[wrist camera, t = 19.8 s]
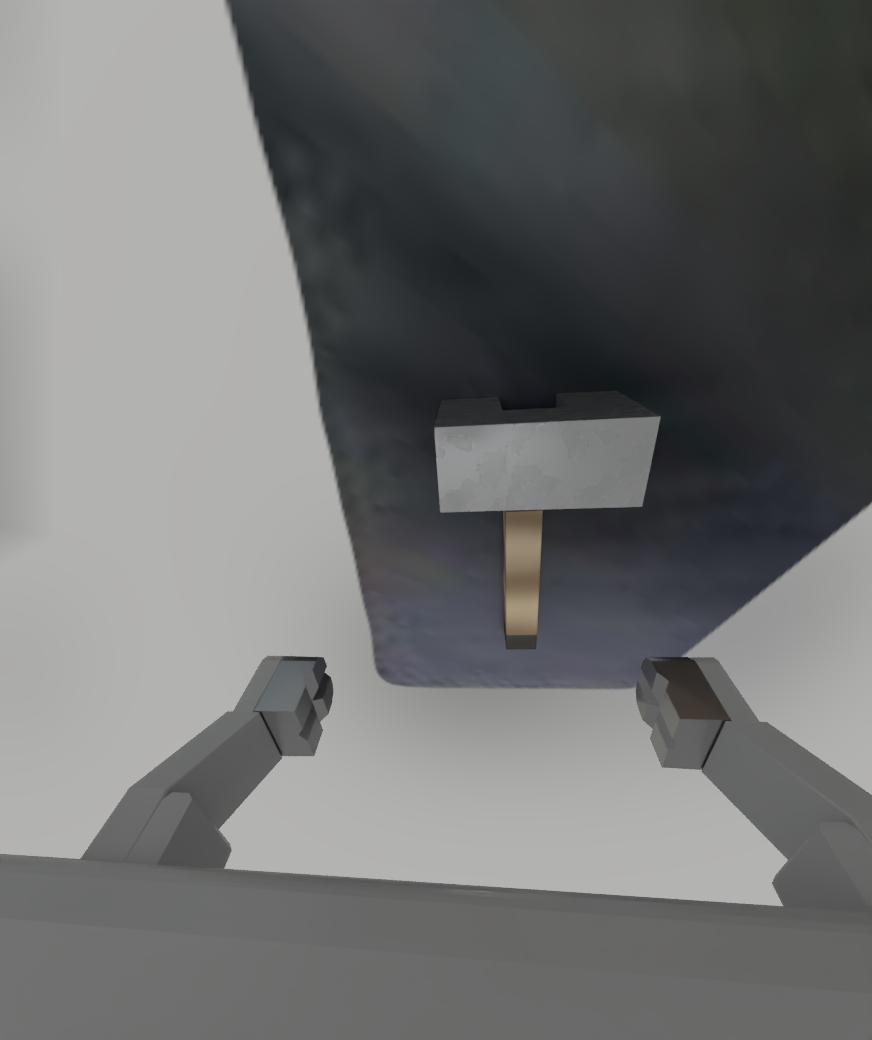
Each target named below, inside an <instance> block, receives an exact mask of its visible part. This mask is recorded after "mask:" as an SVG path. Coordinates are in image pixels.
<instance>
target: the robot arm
mask: <svg viewBox="0 0 872 1040" xmlns="http://www.w3.org/2000/svg"><path fill="white" fill-rule="evenodd" d="M326 667H327V666H326V663H325V660H324V658H322V657H296V656H295V657H294V656H267V657H266V658H265V659H263V660H262V662H261V663H260V665H259V667H258V669H257V670H256V672H255V674H254V676H253V677H252V679H251V681H250V683H249V684H248V686H247V688H246V690H245V691H244V693H243V695H242V697H241V698H240V700H239V702H238V704H237V706H236V707H235V709H234V711H233V712H226V713H225V714H224V715H223V716H221V717H220V718H219V719H218V720H216V721H215V722H214V723H212V724H211V725H210V726H208V727H207V728H206V729H205V730H203V731H202V732H201V733H199V734H198V735H197V736H196V737H194V738H193V739H192V740H190V741H189V742H188V743H187V744H185V745H184V746H183V747H182V748H180V749H179V750H178V751H176V752H175V753H174V754H173V755H171V756H170V757H169V758H167V759H166V760H165V761H164V762H162V763H161V764H160V765H158V766H157V767H156V768H155V769H153V770H152V771H151V772H149V773H148V774H147V775H146V776H145V777H143V778H142V779H140V780H139V781H138V782H137V783H135V784H134V785H133V786H131V787H130V788H129V790H128V791H127V792H126V794H125V795H124V797H123V798H122V800H121V801H120V803H119V804H118V805H117V807H116V808H115V810H114V811H113V813H112V814H111V816H110V817H109V819H108V820H107V821H106V823H105V824H104V826H103V827H102V829H101V830H100V831H99V833H98V834H97V836H96V837H95V839H94V840H93V842H92V843H91V845H90V846H89V847H88V849H87V850H86V852H85V853H84V855H83V856H82V858H81V859H68V858H53V857H38V856H23V855H22V856H21V855H7V854H0V1040H872V795H871V794H869V793H868V792H866V791H865V790H863V789H862V788H861V787H859V786H858V785H856V784H855V783H853V782H852V781H851V780H849V779H848V778H846V777H845V776H843V775H842V774H841V773H839V772H838V771H836V770H835V769H833V768H832V767H830V766H829V765H828V764H826V763H825V762H823V761H822V760H820V759H819V758H818V757H816V756H815V755H813V754H812V753H810V752H809V751H808V750H806V749H805V748H803V747H802V746H800V745H799V744H797V743H796V742H794V741H793V740H792V739H790V738H789V737H787V736H786V735H785V734H783V733H782V732H780V731H779V730H777V729H776V728H775V727H773V726H772V725H770V724H769V723H767V722H759V720H758V719H757V717H756V716H755V715H754V713H753V712H752V710H751V709H750V707H749V706H748V704H747V703H746V701H745V700H744V698H743V697H742V695H741V694H740V692H739V691H738V689H737V688H736V687H735V685H734V683H733V682H732V681H731V679H730V678H729V676H728V675H727V673H726V672H725V670H724V669H723V667H722V666H721V664H720V663H719V661H717V660H716V659H714V658H688V657H649V658H645V659H644V660H643V662H642V666H641V669H642V671H643V674H644V676H642V677H641V678H640V679H638V681H637V686H636V699H637V704H638V708H639V711H640V714H641V716H642V719H643V721H645V722H646V723H647V724H648V725H649V726H650V727H652V728H653V731H652V734H651V741H652V744H653V746H654V749H655V751H656V754H657V756H658V758H659V761H660V763H661V766H662V767H667V768H683V769H699V770H702V772H703V773H704V774H705V775H706V776H707V778H708V779H709V780H710V781H712V783H713V784H714V785H715V786H716V787H717V788H718V789H719V790H720V791H721V792H722V793H723V794H724V795H725V796H726V797H727V798H728V799H729V800H730V801H731V802H732V803H733V804H734V805H735V806H736V807H737V808H738V809H739V810H740V811H741V812H742V813H743V814H744V815H745V816H746V817H747V818H748V819H749V820H750V821H751V822H752V823H753V824H754V825H755V827H756V828H757V829H758V830H759V831H760V832H761V833H762V834H763V835H764V836H765V837H766V838H767V839H768V840H769V841H770V842H771V843H772V844H773V845H774V846H775V847H776V848H777V849H778V850H779V851H780V852H781V853H782V854H783V855H784V856H785V857H786V858H787V859H788V861H787V863H786V864H785V865H784V866H783V867H782V868H781V870H780V871H779V872H778V873H777V874H776V876H775V878H774V880H773V882H772V884H773V886H774V888H775V890H776V892H777V894H778V896H779V898H780V900H781V902H782V904H783V906H784V907H783V906H768V905H753V904H738V903H724V902H709V901H693V900H679V899H664V898H649V897H634V896H620V895H619V896H618V895H605V894H590V893H575V892H560V891H546V890H531V889H515V888H501V887H486V886H471V885H456V884H442V883H426V882H412V881H411V882H410V881H397V880H382V879H367V878H351V877H337V876H322V875H307V874H292V873H278V872H263V871H262V872H261V871H248V870H233V869H224V867H225V864H226V862H227V860H228V858H229V855H230V853H231V847H230V844H229V842H228V841H227V840H226V838H225V837H224V836H223V835H222V833H221V832H220V831H219V828H220V827H221V826H222V825H223V824H224V822H225V821H226V820H227V819H228V818H229V817H230V816H231V815H232V814H233V812H234V811H235V810H236V809H237V808H238V807H239V806H240V805H241V804H242V802H243V801H244V800H245V799H246V798H247V797H248V795H250V793H251V792H252V791H253V790H254V789H255V788H256V787H257V786H258V784H259V783H260V782H261V781H262V780H263V779H264V778H265V777H266V775H267V774H268V773H269V772H270V771H271V770H272V769H273V768H274V766H275V765H276V764H277V763H278V762H279V761H280V760H281V759H282V757H281V756H314V755H315V752H316V749H317V746H318V743H319V740H320V737H321V734H322V731H323V729H322V727H321V724H320V721H321V720H322V719H323V718H324V717H325V716H327V715H328V713H329V710H330V707H331V704H332V697H333V685H332V680H331V677H330V676H328V675H327V674H326V673H324V672H325V669H326Z"/></svg>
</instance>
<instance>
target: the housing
mask: <svg viewBox="0 0 872 1040" xmlns="http://www.w3.org/2000/svg"><path fill="white" fill-rule="evenodd" d="M660 418H661V416H659V415H657V414H656V413H654V412H652V411H651V410H649V409H647V408H645V407H644V406H642V405H640V404H639V403H637V402H635V401H634V400H632V399H630V398H628V397H627V396H625V395H623V394H622V393H620V392H618V391H616V390H612V391H594V392H576V393H558V394H556V404H555V408H539V409H520V410H502V407H501V404H500V401H499V398H498V397H486V398H468V399H450V400H441V404H440V408H439V411H438V415H437V419H436V422H435V426H434V433H435V447H436V461H437V475H438V489H439V502H440V512H473V511H509V510H544V509H580V508H615V507H642V505H643V500H644V495H645V490H646V486H647V481H648V476H649V471H650V466H651V461H652V457H653V452H654V447H655V442H656V437H657V432H658V427H659V423H660Z"/></svg>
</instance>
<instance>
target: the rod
mask: <svg viewBox="0 0 872 1040" xmlns="http://www.w3.org/2000/svg"><path fill="white" fill-rule="evenodd" d="M542 516H543V510H509V511H503V542H504V632H505V641H506V649H536V642H537V621H538V600H539V579H540V558H541V537H542Z"/></svg>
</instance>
